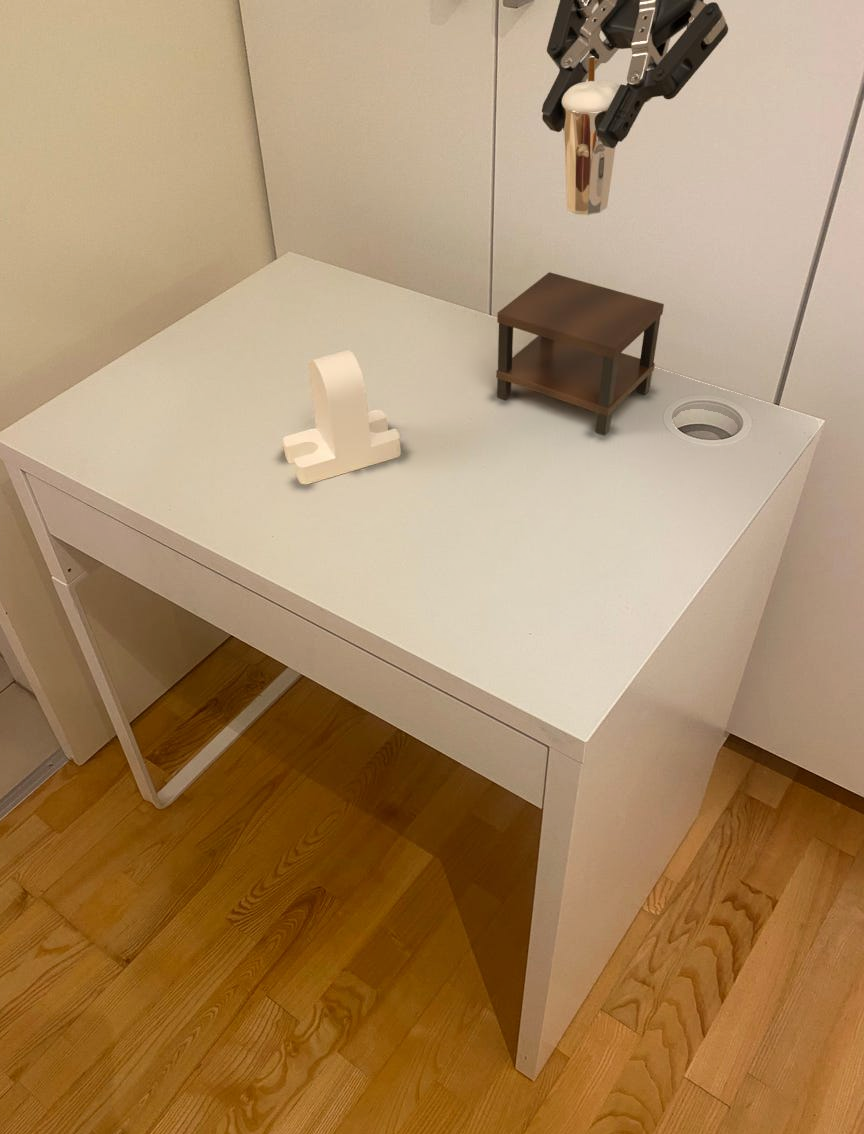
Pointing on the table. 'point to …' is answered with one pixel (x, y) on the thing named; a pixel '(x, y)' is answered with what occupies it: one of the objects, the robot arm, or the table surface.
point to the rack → (578, 344)
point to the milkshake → (587, 144)
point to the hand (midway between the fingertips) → (577, 133)
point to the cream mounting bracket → (340, 424)
